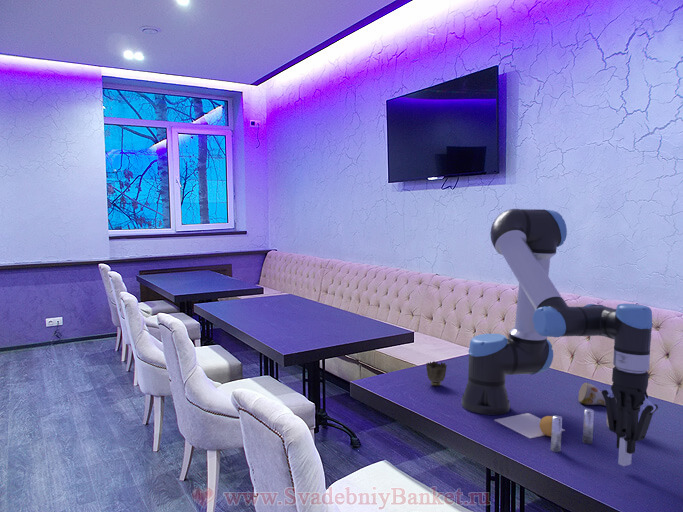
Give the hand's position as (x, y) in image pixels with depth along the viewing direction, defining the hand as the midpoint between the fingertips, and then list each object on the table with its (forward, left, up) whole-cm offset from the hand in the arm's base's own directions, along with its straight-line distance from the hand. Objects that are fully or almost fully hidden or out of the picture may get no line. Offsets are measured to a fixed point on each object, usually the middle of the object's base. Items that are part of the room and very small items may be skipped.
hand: (624, 463), depth 121 cm
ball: (-22, 0, +1) cm, 22 cm away
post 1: (-15, -6, -2) cm, 16 cm away
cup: (-71, -4, -2) cm, 71 cm away
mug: (-34, +35, -2) cm, 49 cm away
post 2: (-15, +6, -2) cm, 16 cm away
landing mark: (-30, 0, -2) cm, 30 cm away
